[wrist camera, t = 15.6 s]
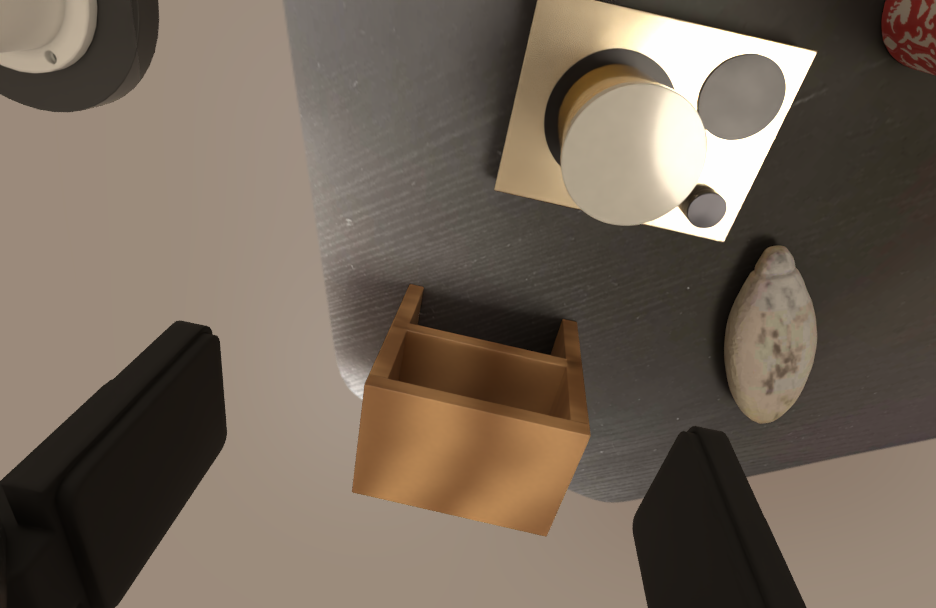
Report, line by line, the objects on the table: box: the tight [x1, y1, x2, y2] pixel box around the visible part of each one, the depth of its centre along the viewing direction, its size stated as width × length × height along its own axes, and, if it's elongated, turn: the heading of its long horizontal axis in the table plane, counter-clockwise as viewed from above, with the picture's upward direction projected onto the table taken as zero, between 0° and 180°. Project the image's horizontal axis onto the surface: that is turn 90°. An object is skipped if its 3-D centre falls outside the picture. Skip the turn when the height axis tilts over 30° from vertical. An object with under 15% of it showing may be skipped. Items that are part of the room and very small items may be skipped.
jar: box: [557, 64, 708, 226], centre depth 28 cm, size 7×7×9 cm
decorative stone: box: [724, 245, 817, 424], centre depth 40 cm, size 6×16×3 cm, turn 13°
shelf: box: [352, 284, 590, 536], centre depth 40 cm, size 14×10×13 cm
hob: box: [494, 0, 818, 242], centre depth 33 cm, size 16×12×4 cm
